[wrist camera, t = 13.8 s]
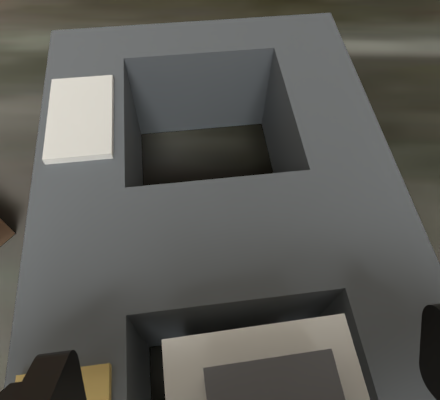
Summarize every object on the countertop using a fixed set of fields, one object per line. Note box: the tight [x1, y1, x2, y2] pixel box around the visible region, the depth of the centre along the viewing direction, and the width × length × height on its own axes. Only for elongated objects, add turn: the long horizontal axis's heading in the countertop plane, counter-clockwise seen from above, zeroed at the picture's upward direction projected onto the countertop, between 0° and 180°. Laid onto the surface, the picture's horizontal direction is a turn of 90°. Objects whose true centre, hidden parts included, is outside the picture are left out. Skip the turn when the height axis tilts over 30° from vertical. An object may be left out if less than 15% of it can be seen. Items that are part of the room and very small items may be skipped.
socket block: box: [4, 13, 440, 400], centre depth 15 cm, size 22×13×5 cm, turn 7°
